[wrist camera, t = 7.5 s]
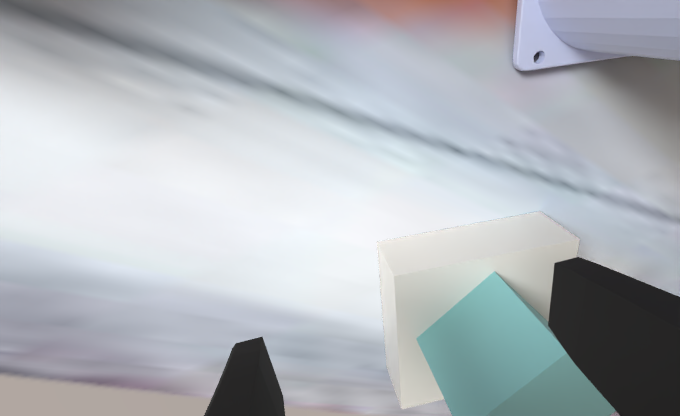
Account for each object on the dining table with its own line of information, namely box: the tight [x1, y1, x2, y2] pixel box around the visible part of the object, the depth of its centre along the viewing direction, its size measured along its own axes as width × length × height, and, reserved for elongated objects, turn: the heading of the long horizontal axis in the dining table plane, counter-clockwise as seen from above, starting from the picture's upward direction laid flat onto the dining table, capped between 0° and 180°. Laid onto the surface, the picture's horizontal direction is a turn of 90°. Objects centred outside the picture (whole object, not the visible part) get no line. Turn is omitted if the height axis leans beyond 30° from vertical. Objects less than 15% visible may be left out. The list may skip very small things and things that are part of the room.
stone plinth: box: [377, 211, 580, 409], centre depth 21 cm, size 9×9×3 cm
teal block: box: [416, 271, 616, 416], centre depth 18 cm, size 5×5×5 cm
